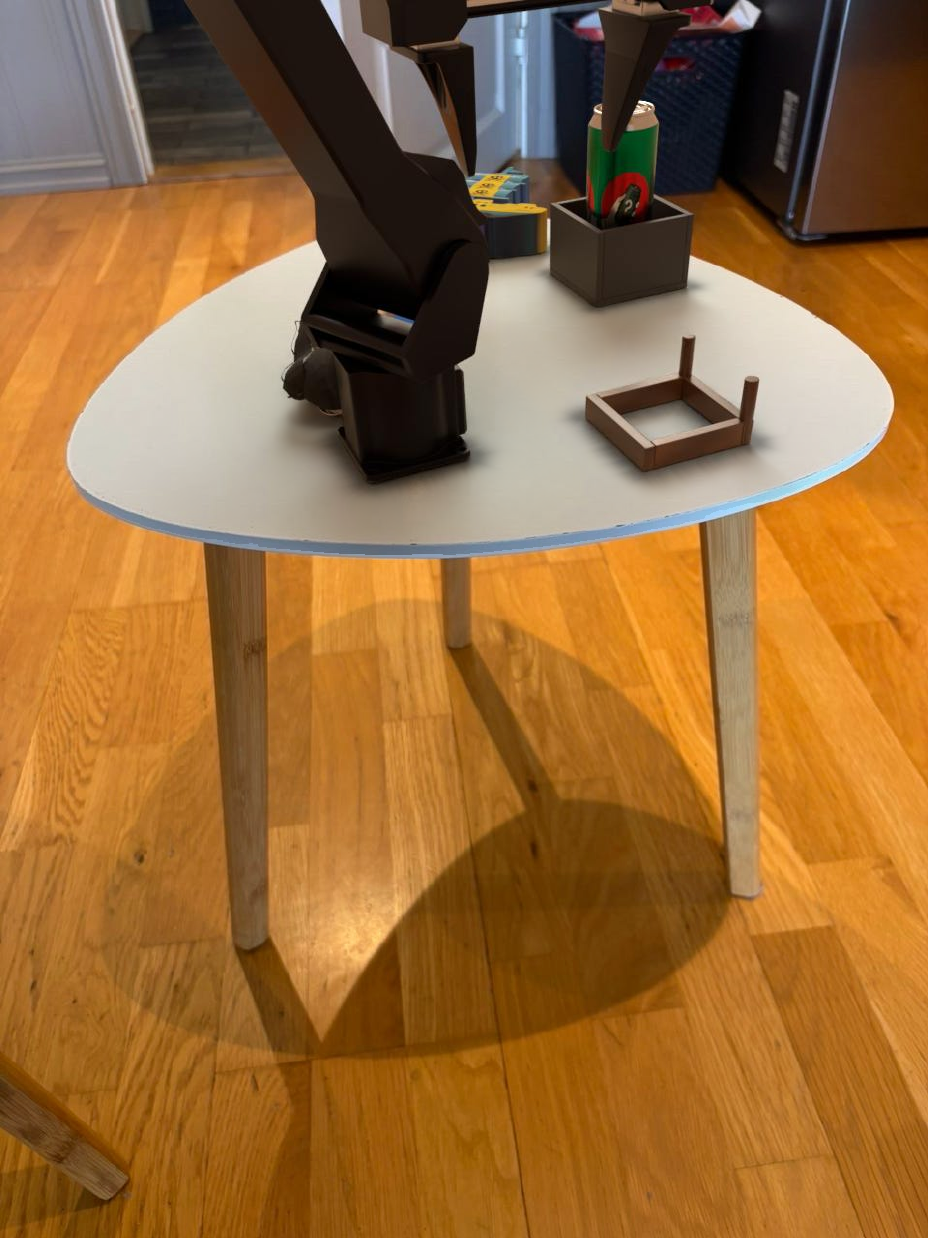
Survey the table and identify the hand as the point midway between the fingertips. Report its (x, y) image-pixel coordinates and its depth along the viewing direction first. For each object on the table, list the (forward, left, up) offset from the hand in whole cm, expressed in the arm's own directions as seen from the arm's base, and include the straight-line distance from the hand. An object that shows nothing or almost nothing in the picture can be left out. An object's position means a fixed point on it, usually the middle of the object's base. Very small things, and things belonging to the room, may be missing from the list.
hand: (540, 162), depth 56 cm
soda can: (+12, +11, -13) cm, 20 cm away
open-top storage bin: (+12, +11, -13) cm, 21 cm away
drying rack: (+3, -11, -13) cm, 17 cm away
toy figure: (-12, +5, -13) cm, 19 cm away
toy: (+2, +23, -11) cm, 26 cm away
